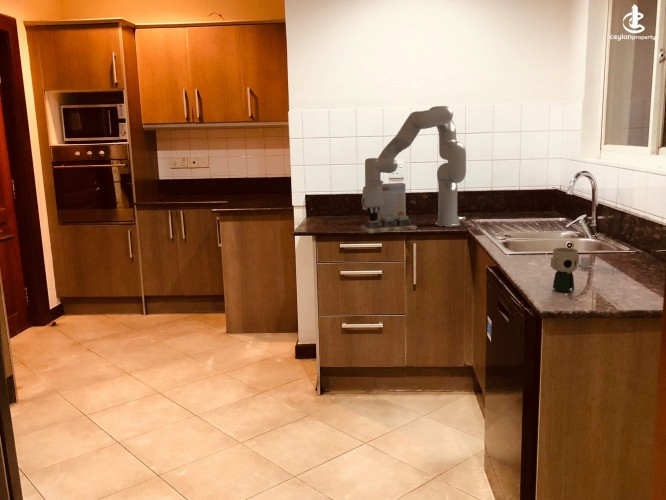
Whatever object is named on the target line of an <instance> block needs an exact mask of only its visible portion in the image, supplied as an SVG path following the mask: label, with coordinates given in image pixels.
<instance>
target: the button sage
mask: <svg viewBox="0 0 666 500" xmlns="http://www.w3.org/2000/svg"><path fill="white" fill-rule="evenodd" d="M397 219H398V220H409V219H410V218H409V216H408V215H406V216H405V215H402V216H397Z"/></svg>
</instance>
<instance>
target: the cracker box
mask: <svg viewBox="0 0 666 500" xmlns="http://www.w3.org/2000/svg"><path fill="white" fill-rule="evenodd" d="M381 186H382V190H383V199H384V204H383V208H382V209H379V210H378V212H377V220H378V221H380V220H382V217H394V219H397V216H402V215H405V216H407V213H406V212H407V211H406V210H407V208H406V207H407V205H406V203H407V201H406V183H405V182H395V183H394V182H392V183H390V182H389V183H383V184H381Z"/></svg>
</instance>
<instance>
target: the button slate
mask: <svg viewBox="0 0 666 500" xmlns="http://www.w3.org/2000/svg"><path fill="white" fill-rule="evenodd" d="M382 220H383V221H394V217H382Z"/></svg>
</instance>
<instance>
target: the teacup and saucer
mask: <svg viewBox="0 0 666 500" xmlns="http://www.w3.org/2000/svg"><path fill="white" fill-rule="evenodd" d="M590 263H591V257H587V256H583V257H580V260H579V262H578V264H577V269H576V270H579V271H583V270H585V271H595V270H597V269H598V268H597V267H596V266H593V265H590ZM578 267H581V268H582V269H581V268H578ZM589 268H592V269H589Z"/></svg>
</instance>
